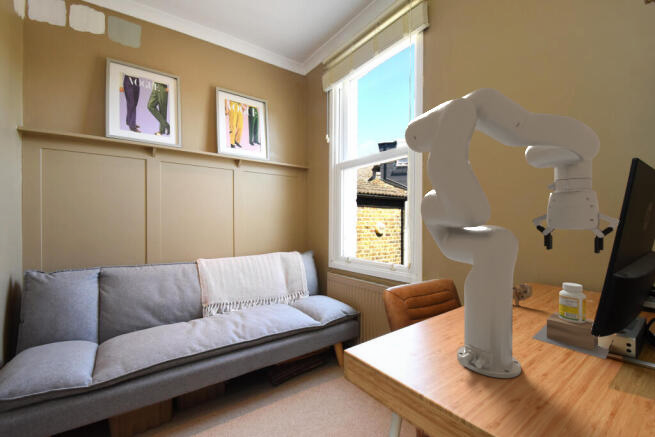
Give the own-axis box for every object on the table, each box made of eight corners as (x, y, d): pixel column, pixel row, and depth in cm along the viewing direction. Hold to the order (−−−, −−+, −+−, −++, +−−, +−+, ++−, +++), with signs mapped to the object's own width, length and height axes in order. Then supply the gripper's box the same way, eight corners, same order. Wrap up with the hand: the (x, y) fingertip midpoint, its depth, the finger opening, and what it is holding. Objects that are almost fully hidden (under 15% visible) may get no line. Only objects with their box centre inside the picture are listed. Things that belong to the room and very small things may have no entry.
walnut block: (592, 350, 67) (592, 329, 67) (546, 337, 74) (546, 319, 74) (598, 339, 72) (598, 320, 72) (555, 328, 79) (555, 311, 79)
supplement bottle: (569, 323, 70) (569, 286, 70) (553, 316, 76) (554, 281, 76) (591, 324, 70) (591, 287, 70) (574, 316, 75) (575, 282, 75)
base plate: (605, 362, 63) (605, 359, 62) (531, 340, 73) (531, 338, 73) (613, 342, 73) (613, 339, 73) (547, 325, 83) (547, 323, 83)
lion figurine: (533, 307, 100) (533, 283, 100) (531, 311, 96) (531, 286, 96) (487, 299, 110) (487, 277, 110) (484, 302, 106) (484, 279, 106)
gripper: (529, 188, 77) (528, 249, 77) (618, 182, 64) (617, 256, 64) (536, 190, 82) (536, 247, 82) (621, 185, 68) (621, 253, 68)
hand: (572, 251), depth 73 cm, fingers open, 9 cm apart
